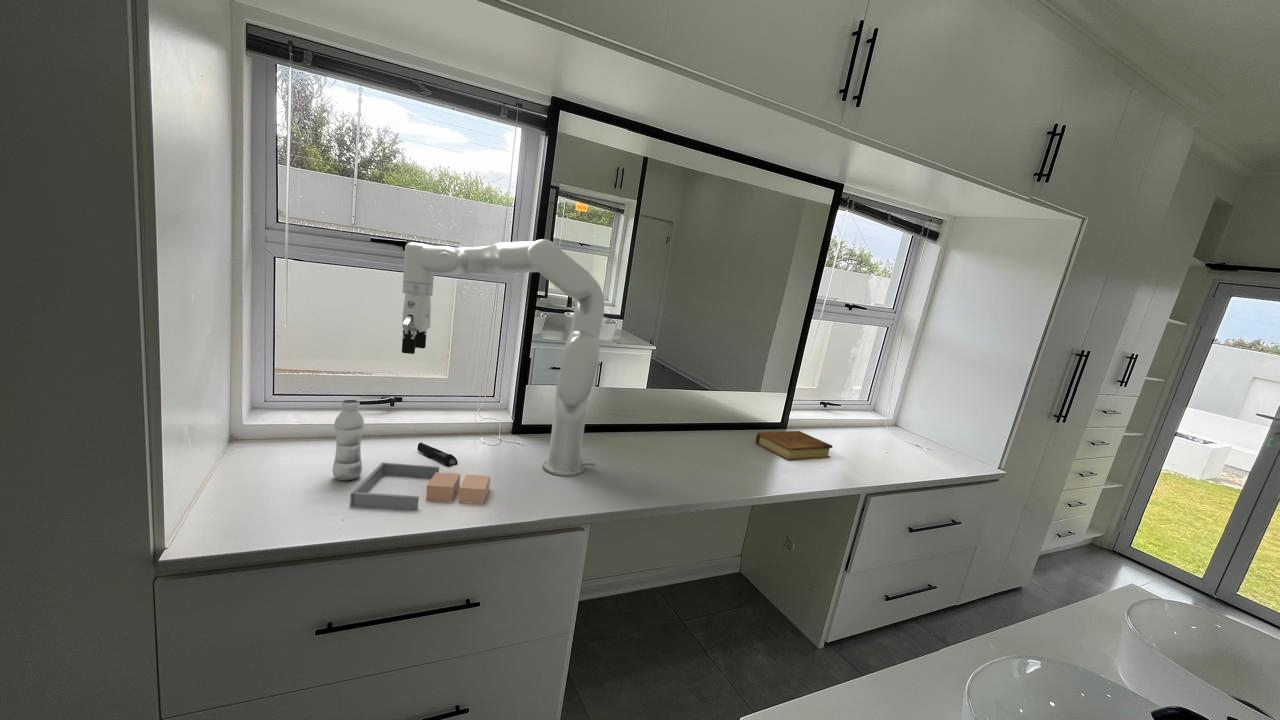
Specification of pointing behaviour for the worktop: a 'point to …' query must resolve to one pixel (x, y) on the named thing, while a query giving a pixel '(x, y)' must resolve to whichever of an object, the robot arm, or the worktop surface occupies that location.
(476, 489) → the tile
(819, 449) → the diary
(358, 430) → the plastic bottle
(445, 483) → the tile
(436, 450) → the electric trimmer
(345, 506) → the worktop surface
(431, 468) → the organizer bay
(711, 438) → the worktop surface
